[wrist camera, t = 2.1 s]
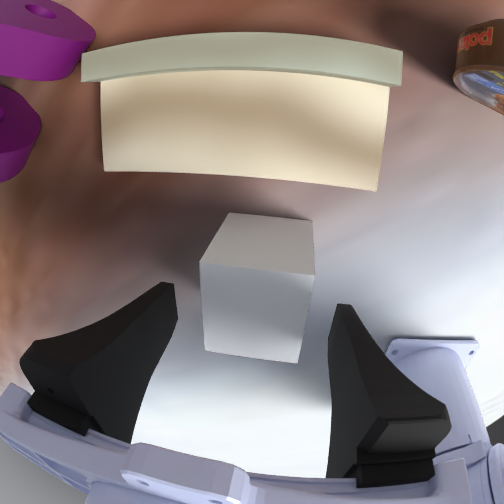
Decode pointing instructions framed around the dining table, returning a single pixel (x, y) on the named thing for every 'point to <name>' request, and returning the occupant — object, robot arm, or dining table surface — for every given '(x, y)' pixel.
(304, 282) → the white block
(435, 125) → the dining table surface
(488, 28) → the tin
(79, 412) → the robot arm
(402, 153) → the dining table surface
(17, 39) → the mounting bracket
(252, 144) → the rail
